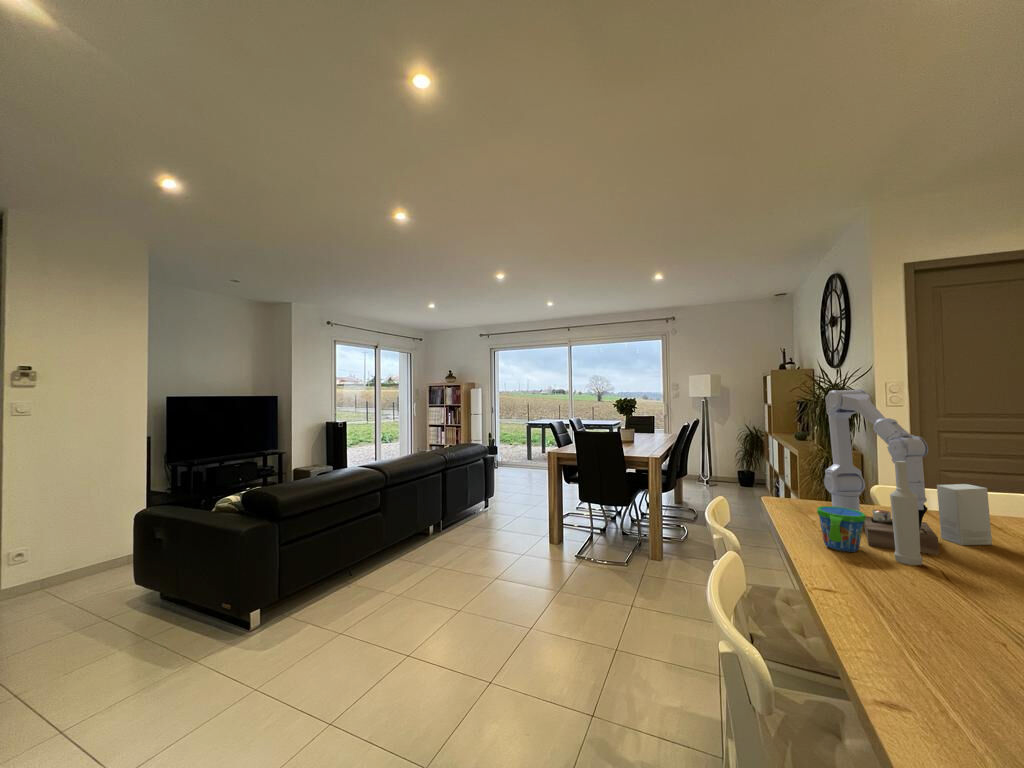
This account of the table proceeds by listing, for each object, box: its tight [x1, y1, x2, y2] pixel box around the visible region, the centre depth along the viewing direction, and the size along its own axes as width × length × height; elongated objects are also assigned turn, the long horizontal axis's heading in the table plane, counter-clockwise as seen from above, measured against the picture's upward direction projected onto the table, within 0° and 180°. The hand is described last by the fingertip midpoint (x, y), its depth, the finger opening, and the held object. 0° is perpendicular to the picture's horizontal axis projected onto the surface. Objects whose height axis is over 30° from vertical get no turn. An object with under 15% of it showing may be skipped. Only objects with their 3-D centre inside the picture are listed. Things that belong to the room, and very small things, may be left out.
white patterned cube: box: [872, 509, 892, 525], centre depth 124 cm, size 4×4×4 cm
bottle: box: [889, 461, 923, 566], centre depth 106 cm, size 5×5×25 cm
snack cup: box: [816, 505, 867, 553], centre depth 116 cm, size 16×10×10 cm
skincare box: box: [936, 483, 993, 546], centre depth 118 cm, size 8×7×16 cm
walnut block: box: [863, 515, 940, 556], centre depth 120 cm, size 16×14×4 cm
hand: (913, 530), depth 115 cm, fingers closed, pressing on maple dowel
